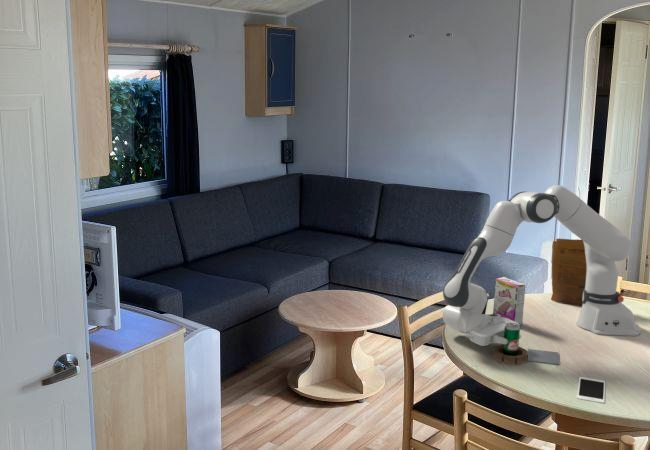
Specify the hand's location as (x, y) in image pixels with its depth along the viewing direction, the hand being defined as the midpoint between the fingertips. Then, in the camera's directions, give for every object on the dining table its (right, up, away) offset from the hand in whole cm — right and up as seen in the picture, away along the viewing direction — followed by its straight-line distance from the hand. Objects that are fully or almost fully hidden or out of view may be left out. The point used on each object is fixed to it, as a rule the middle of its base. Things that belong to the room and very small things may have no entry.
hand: (513, 339), depth 243 cm
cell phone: (+19, -13, -20) cm, 30 cm away
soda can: (-1, -7, +2) cm, 7 cm away
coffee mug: (-4, +2, +40) cm, 40 cm away
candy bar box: (+7, +1, +36) cm, 36 cm away
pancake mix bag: (+39, +6, +57) cm, 70 cm away
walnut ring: (-1, -7, +2) cm, 7 cm away
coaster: (+11, -7, +3) cm, 13 cm away
